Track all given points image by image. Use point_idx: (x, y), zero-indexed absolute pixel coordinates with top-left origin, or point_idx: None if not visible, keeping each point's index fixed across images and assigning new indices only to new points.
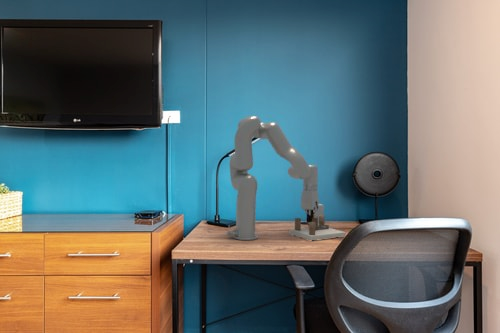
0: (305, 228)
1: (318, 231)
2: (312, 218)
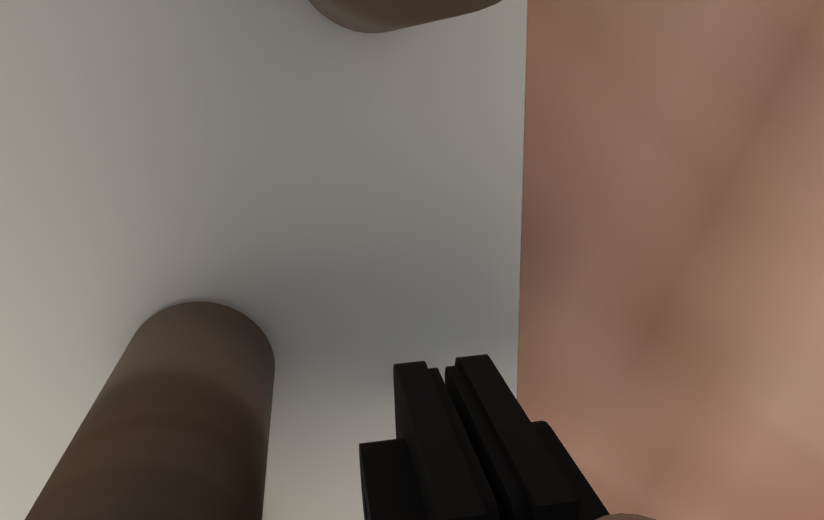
0: (440, 252)
1: (18, 359)
2: (125, 490)
